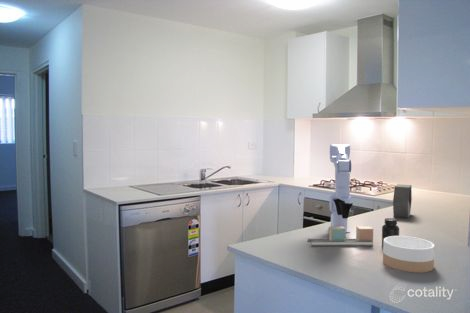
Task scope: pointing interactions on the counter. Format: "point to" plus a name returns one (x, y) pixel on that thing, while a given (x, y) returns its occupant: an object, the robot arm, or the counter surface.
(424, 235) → the counter surface
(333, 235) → the box
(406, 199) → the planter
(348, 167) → the robot arm
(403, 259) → the bowl
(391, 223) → the supplement bottle
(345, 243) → the pair of grey rails
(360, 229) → the faced tea box
